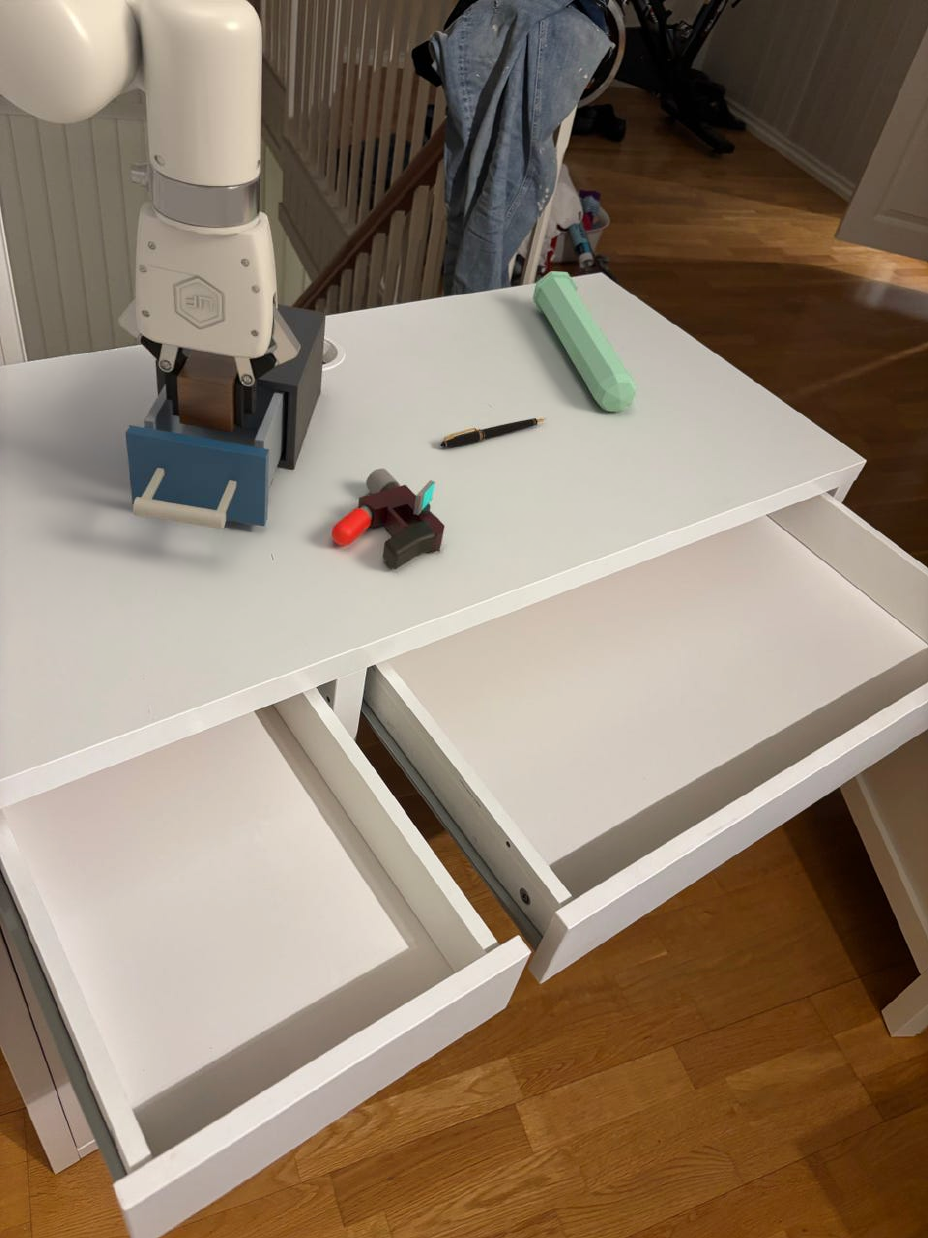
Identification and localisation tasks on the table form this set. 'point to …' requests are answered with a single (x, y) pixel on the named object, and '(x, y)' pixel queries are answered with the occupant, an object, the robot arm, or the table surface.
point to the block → (207, 391)
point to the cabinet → (291, 376)
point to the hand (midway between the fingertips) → (212, 410)
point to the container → (584, 341)
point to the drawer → (206, 464)
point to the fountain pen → (486, 433)
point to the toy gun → (394, 519)
